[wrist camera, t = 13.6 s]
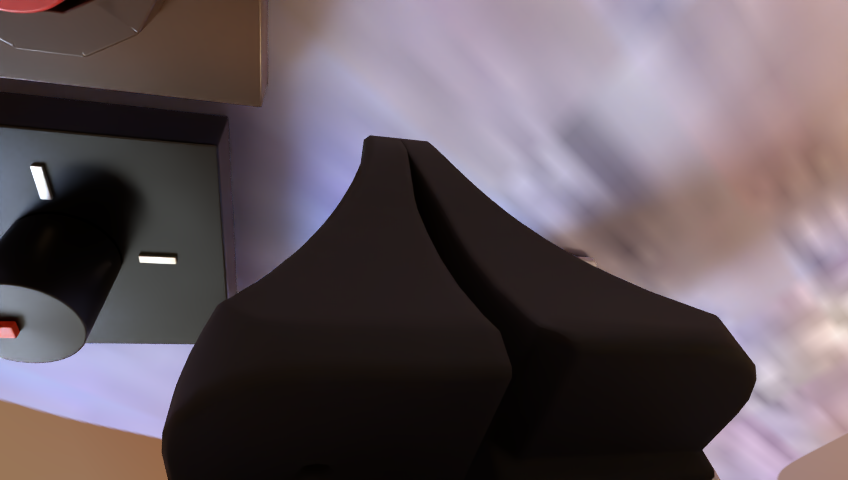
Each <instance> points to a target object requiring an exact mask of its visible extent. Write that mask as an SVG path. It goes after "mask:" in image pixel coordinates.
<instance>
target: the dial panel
mask: <svg viewBox="0 0 848 480" xmlns="http://www.w3.org/2000/svg"><path fill="white" fill-rule="evenodd" d="M39 214H55V215H63V216H68V217H71V218H75V219H78V220H81V221H83V222H85V223H88V224H90V225H92V226H93V227H95V228H97V229H98V230H100V231H101V232H102V233H104V234H105V235H106V236H107V237H108V238H109V239H110V240H111V241H112V242H113V244H114V245H115V246H116V248H117V250H118V252H119V255H120V259H121V268H120V272H119V274H118V276H117V278H116V280H115V282H114V284H113V286H112V288H111V290H110V292H109V295H108V297H107V299H106V301H105V303H104V305H103V307H102V309H101V311H100V313H99V315H98V317H97V320H96V322H95V324H94V326H93V328H92V330H91V332H90V334H89V336H88V338H87V340H86V342H85V343H134V344H195V343H196V341H197V339H198V337H199V335H200V333H201V332H202V330H203V328H204V327H205V325H206V323H207V322H208V320H209V318H210V317H211V315H212V313H213V312H214V310H215V308H216V307H217V305H218V304H220V303H221V302H223V301H224V300H226V299H228V298H230V297H232V296H234V295H235V294H237V283H236V262H235V242H234V222H233V201H232V181H231V161H230V140H229V120H228V117H227V116H219V115H209V114H200V113H191V112H182V111H172V110H163V109H154V108H145V107H135V106H126V105H117V104H107V103H98V102H89V101H80V100H70V99H61V98H52V97H43V96H33V95H24V94H15V93H6V92H0V239H1V237H2V236H3V235H4V234H5V232H6V231H7V230H8V229H9V228H10V227H11V226H12V225H13V224H14V223H15V222H17V221H18V220H21V219H23V218H25V217H29V216H33V215H39Z"/></svg>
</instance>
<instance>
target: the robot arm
mask: <svg viewBox="0 0 848 480" xmlns="http://www.w3.org/2000/svg"><path fill="white" fill-rule="evenodd" d="M755 382H756V368H755V364H754V363H753V362H752V360H751V359H750V358H749V357H748V355H747V354H746V353H745V351H744V350H743V349H742V347H741V346H740V345H739V344H738V342H737V341H736V340H735V338H734V337H733V336H732V334H731V333H730V332H729V330H728V329H727V328H726V327H725V325H724V324H723V323H722V321H721V320H720V319H719V318H718V317H717V316H716V315H714V314H711V313H708V312H705V311H702V310H700V309H697V308H694V307H691V306H689V305H686V304H683V303H680V302H678V301H675V300H672V299H669V298H667V297H664V296H661V295H658V294H656V293H653V292H650V291H648V290H646V289H643V288H641V287H639V286H636V285H634V284H632V283H630V282H627V281H625V280H623V279H620V278H618V277H616V276H614V275H611V274H609V273H607V272H605V271H603V270H601V269H599V268H597V264H596V262H595V260H594V259H593V258H590V257H576V256H574V255H572V254H571V253H569V252H567V251H565V250H563V249H561V248H560V247H558V246H556V245H555V244H553V243H551V242H550V241H548V240H546V239H545V238H543V237H542V236H540V235H539V234H537V233H536V232H534V231H533V230H531V229H530V228H528V227H527V226H525V225H524V224H522V223H521V222H519V221H518V220H517V219H515V218H514V217H512V216H511V215H510V214H508V213H507V212H506V211H505V210H503V209H502V208H501V207H500V206H499V205H497V204H496V203H495V202H494V201H492V200H491V199H490V198H489V197H487V196H486V195H485V194H484V193H483V192H482V191H481V190H479V189H478V188H477V187H476V186H475V185H474V184H473V183H472V182H471V181H469V180H468V179H467V178H466V177H465V176H464V175H463V174H462V173H461V172H460V171H459V170H458V169H457V168H456V167H455V166H454V165H453V164H452V163H450V162H449V161H448V160H447V159H446V158H445V157H444V156H443V155H442V154H441V153H440V152H439V151H438V150H437V149H436V148H435V147H434V146H432V145H431V144H430V143H429V142H427V141H418V140H408V139H399V138H390V137H380V136H371V135H370V136H369V137H367V138H366V139H364V142H363V150H362V158H361V164H360V166H359V169H358V171H357V173H356V175H355V178H354V180H353V182H352V183H351V185H350V187H349V188H348V190H347V192H346V193H345V195H344V197H343V198H342V200H341V202H340V203H339V205H338V206H337V207H336V209H335V210H334V211H333V213H332V214H331V215H330V217H329V218H328V219H327V220H326V221H325V223H324V224H323V225H322V226H321V227H320V228H319V229H318V231H317V232H316V233H315V234H314V235H313V236H312V237H311V238H310V239H309V240H308V241H307V242H306V243H305V244H304V245H303V246H302V247H301V248H300V249H299V250H297V251H296V252H295V253H294V254H293V255H291V256H290V257H289V258H288V259H286V260H285V261H284V262H283V263H281V264H280V265H279V266H278V267H276V268H275V269H274V270H273V271H271V272H270V273H269V274H267V275H266V276H265V277H263V278H262V279H260V280H259V281H257V282H255V283H254V284H252V285H250V286H249V287H247V288H245V289H244V290H242V291H240V292H239V293H237V294H235V295H234V296H232V297H230V298H228V299H226V300H224V301H223V302H221V303H220V304H218V305H217V307H216V308H215V310H214V312H213V313H212V315H211V317H210V318H209V320H208V322H207V323H206V325H205V327H204V328H203V330H202V332H201V333H200V335H199V337H198V339H197V341H196V343H195V345H194V347H193V348H192V350H191V352H190V354H189V357H188V359H187V361H186V363H185V366H184V368H183V370H182V372H181V375H180V377H179V380H178V382H177V384H176V387H175V390H174V394H173V397H172V401H171V404H170V408H169V411H168V415H167V418H166V422H165V426H164V429H163V433H162V456H163V460H164V464H165V469H166V473H167V477H168V480H720V479H719V477H718V475H717V473H716V472H715V470H714V468H713V467H712V465H711V463H710V462H709V460H708V459H707V457H706V455H705V454H704V452H703V449H704V448H705V447H706V446H707V445H708V443H709V442H710V441H711V440H712V439H713V438H714V437H715V436H716V435H717V434H718V433H719V432H720V431H721V430H722V429H723V428H724V427H725V426H726V425H727V424H728V423H729V422H730V421H731V420H732V419H733V418H734V417H735V416H736V415H737V414H738V413H739V411H740V410H741V409H742V408H743V406H744V405H745V404H746V402H747V401H748V400H749V398H750V395H751V393H752V390H753V388H754V385H755Z"/></svg>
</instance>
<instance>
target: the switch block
mask: <svg viewBox="0 0 848 480" xmlns="http://www.w3.org/2000/svg"><path fill="white" fill-rule="evenodd" d="M0 78H8V79H17V80H26V81H35V82H43V83H52V84H61V85H70V86H79V87H87V88H96V89H105V90H114V91H123V92H131V93H140V94H149V95H158V96H167V97H175V98H184V99H193V100H202V101H211V102H219V103H228V104H237V105H246V106H255V107H262V104H263V100H264V96H265V92H266V88H267V84H268V0H65V1H63V2H61V3H60V4H58V5H56V6H55V7H53V8H51V9H48V10H45V11H42V12H36V13H11V12H6V11H1V10H0Z"/></svg>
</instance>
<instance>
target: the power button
mask: <svg viewBox="0 0 848 480" xmlns="http://www.w3.org/2000/svg"><path fill="white" fill-rule="evenodd" d="M63 1H65V0H0V10H1V11H6V12H11V13H36V12H42V11H45V10H48V9H51V8H53V7H55V6H56V5H58V4H60V3H61V2H63Z"/></svg>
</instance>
